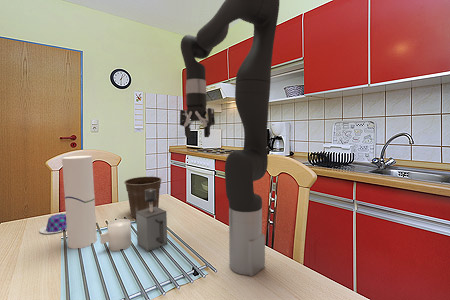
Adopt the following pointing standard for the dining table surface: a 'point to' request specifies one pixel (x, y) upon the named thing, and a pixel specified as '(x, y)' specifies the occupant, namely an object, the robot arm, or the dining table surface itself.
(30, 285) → the dining table surface
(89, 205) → the container
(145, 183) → the plant pot
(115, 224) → the mug
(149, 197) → the plunger
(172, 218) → the dining table surface
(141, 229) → the box with side grip
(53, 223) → the purple hat
